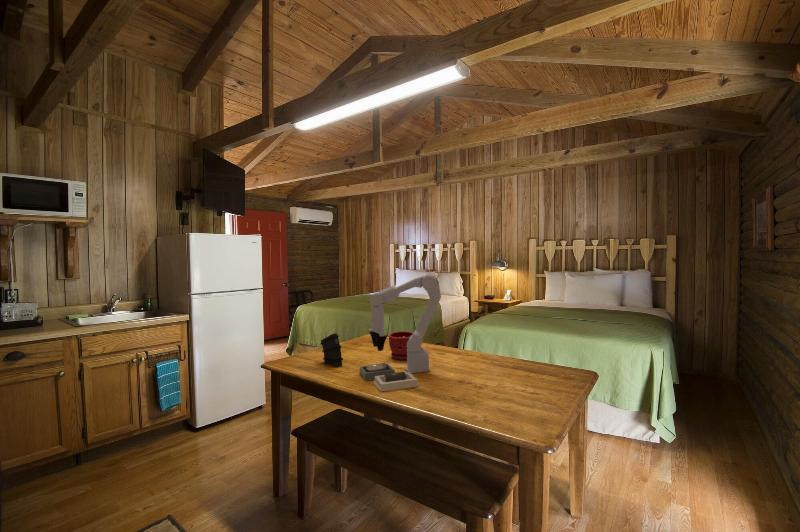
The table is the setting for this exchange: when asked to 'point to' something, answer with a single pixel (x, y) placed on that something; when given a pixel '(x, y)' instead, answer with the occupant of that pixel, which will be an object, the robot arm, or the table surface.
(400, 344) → the plant pot
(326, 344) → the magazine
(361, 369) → the bin
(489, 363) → the table surface
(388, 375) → the cylinder
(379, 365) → the silver cell
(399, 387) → the trough board
